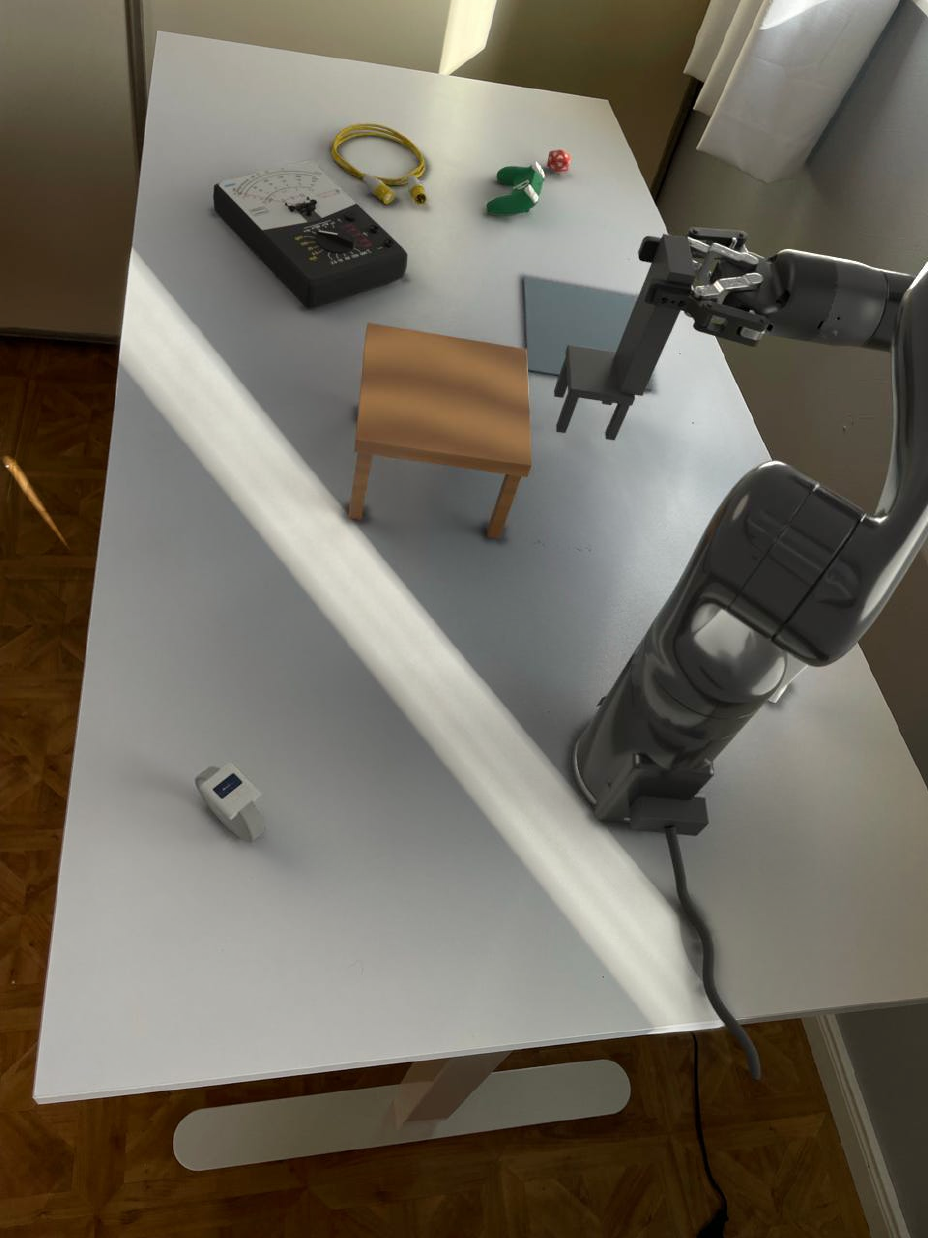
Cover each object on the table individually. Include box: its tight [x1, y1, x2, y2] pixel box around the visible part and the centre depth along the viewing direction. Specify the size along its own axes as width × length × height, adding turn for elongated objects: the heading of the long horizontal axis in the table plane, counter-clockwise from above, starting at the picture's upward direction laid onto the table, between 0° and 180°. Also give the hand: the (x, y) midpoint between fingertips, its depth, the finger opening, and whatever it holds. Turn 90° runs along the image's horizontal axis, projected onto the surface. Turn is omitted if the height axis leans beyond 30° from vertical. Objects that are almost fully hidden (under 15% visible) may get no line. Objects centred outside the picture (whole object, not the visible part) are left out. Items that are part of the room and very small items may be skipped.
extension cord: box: [331, 122, 427, 206], centre depth 123 cm, size 12×16×2 cm
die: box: [546, 148, 572, 174], centre depth 130 cm, size 3×3×3 cm
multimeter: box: [212, 159, 408, 309], centre depth 110 cm, size 13×19×5 cm
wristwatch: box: [194, 762, 266, 843], centre depth 71 cm, size 6×3×5 cm, turn 48°
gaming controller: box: [485, 161, 545, 216], centre depth 124 cm, size 9×4×6 cm
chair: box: [553, 233, 696, 441], centre depth 95 cm, size 7×6×20 cm
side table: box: [347, 322, 533, 539], centre depth 92 cm, size 15×15×10 cm
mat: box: [523, 276, 653, 391], centre depth 113 cm, size 16×14×1 cm
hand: (644, 268), depth 89 cm, fingers closed on chair, 5 cm apart
